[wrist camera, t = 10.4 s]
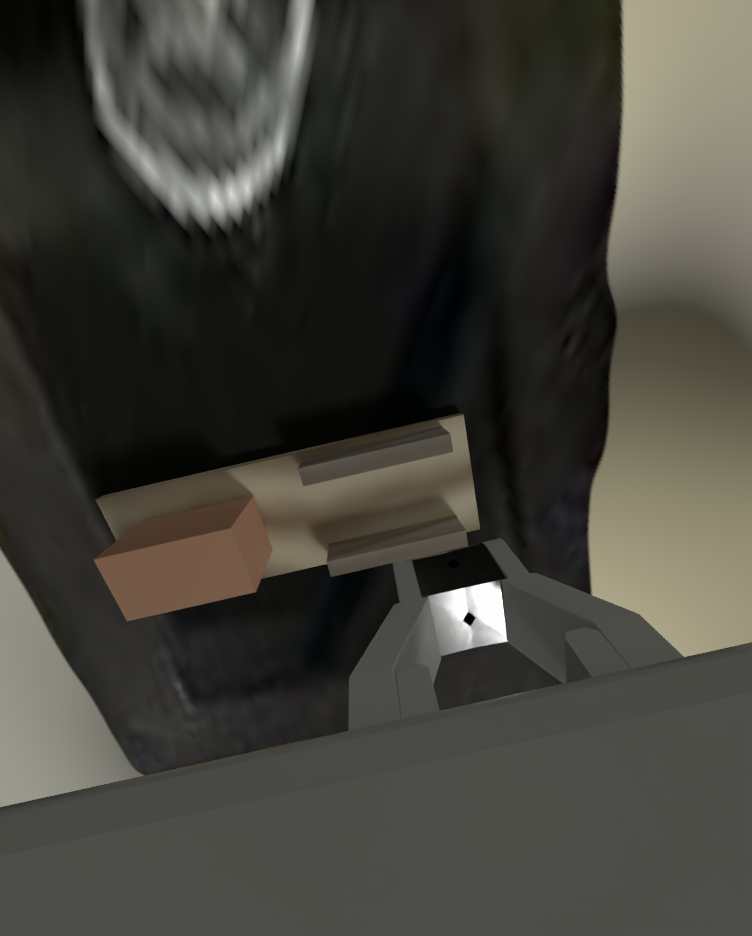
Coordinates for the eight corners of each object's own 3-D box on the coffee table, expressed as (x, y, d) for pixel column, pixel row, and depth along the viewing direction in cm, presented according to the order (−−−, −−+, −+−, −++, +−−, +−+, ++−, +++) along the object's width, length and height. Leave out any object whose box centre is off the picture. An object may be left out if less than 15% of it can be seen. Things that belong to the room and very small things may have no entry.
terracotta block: (141, 521, 31) (93, 559, 25) (253, 495, 31) (230, 528, 25) (166, 574, 33) (127, 621, 27) (272, 550, 32) (255, 591, 27)
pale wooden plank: (103, 495, 31) (68, 515, 27) (460, 413, 31) (475, 421, 27) (154, 597, 35) (130, 627, 31) (476, 524, 34) (491, 545, 30)
